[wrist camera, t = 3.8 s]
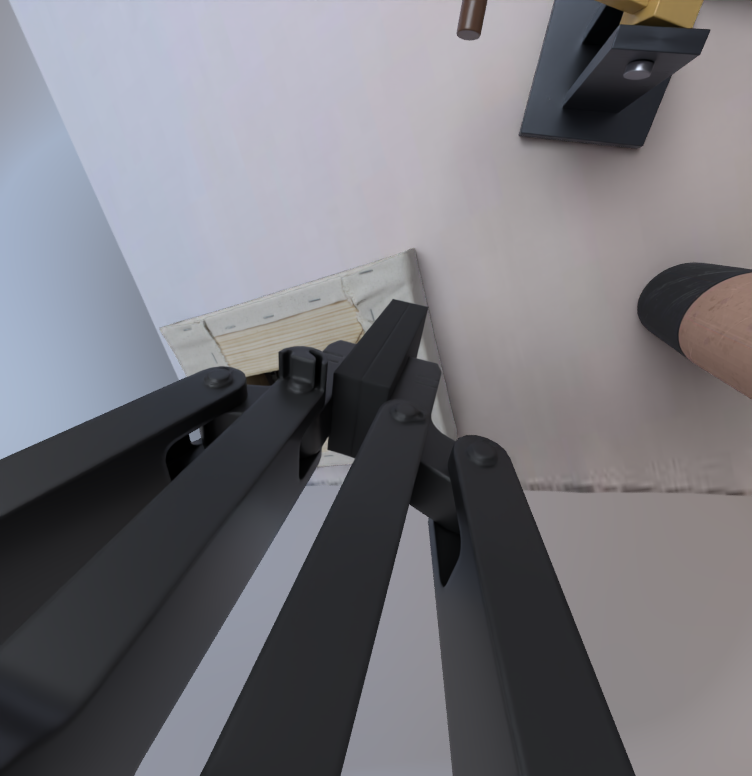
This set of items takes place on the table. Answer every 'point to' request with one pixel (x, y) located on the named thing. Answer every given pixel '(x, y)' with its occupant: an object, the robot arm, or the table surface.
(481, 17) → the tap lever
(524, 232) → the table surface
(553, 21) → the tap bracket
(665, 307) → the travel mug
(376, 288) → the box
